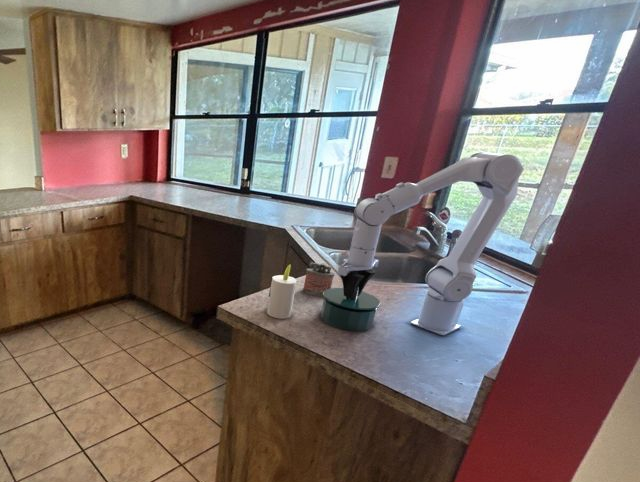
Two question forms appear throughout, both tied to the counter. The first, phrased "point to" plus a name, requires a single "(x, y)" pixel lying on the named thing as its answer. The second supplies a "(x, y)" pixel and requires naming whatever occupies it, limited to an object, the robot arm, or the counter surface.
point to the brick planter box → (318, 279)
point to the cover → (351, 299)
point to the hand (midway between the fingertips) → (351, 295)
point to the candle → (281, 295)
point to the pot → (347, 317)
